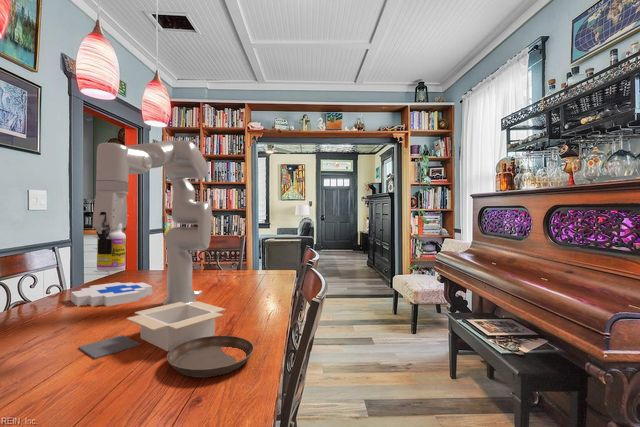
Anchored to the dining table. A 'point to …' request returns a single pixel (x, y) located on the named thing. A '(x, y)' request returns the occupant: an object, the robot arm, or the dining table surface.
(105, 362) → the dining table surface
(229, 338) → the plant saucer
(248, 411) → the dining table surface
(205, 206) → the robot arm
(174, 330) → the carton
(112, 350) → the coaster mat
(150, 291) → the pixel art tile
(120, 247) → the supplement bottle
